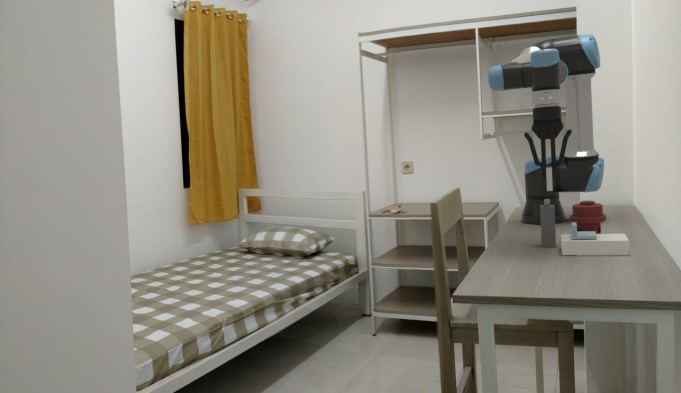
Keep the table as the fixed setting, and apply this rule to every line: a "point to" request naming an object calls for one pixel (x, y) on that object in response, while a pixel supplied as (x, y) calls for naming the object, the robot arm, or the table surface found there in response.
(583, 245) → the socket
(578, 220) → the mechanical component
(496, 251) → the table surface
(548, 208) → the plug
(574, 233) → the panel
